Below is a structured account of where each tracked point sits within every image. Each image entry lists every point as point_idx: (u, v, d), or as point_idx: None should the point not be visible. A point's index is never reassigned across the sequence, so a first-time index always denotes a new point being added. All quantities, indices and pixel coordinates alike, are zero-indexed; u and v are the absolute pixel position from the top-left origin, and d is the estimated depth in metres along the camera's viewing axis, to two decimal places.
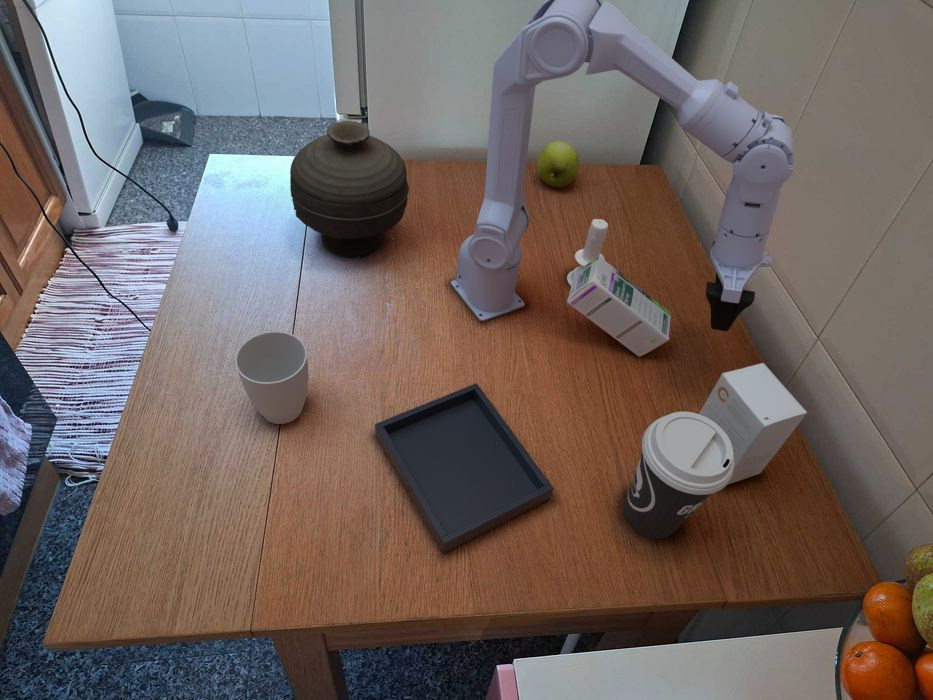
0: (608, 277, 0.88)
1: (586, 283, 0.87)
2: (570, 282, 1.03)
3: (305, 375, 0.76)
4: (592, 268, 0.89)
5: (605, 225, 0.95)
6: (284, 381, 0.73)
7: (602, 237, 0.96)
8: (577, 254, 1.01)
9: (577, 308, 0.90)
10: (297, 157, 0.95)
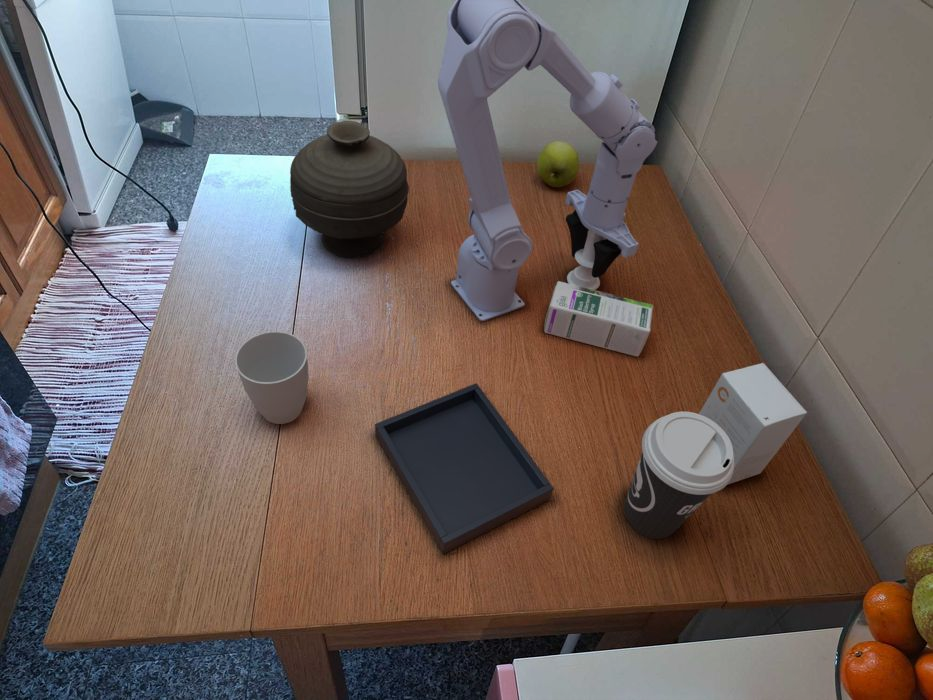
0: (568, 297, 0.93)
1: (548, 310, 0.93)
2: (570, 282, 1.03)
3: (305, 375, 0.76)
4: (553, 294, 0.94)
5: None
6: (284, 381, 0.73)
7: (602, 237, 0.96)
8: (577, 254, 1.01)
9: (555, 334, 0.95)
10: (297, 157, 0.95)
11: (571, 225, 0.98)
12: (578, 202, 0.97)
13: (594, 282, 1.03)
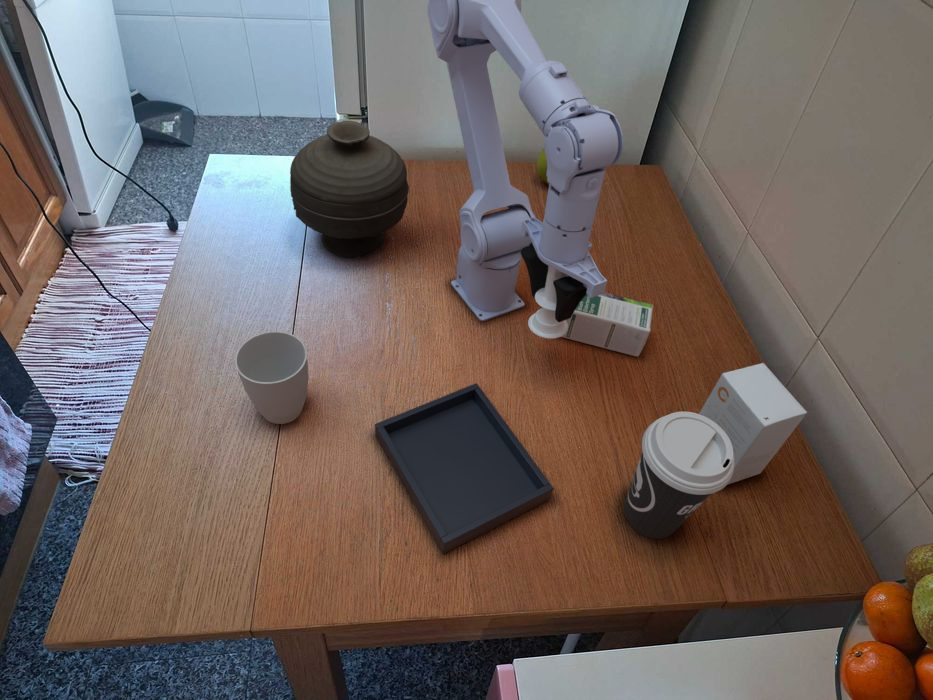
0: None
1: None
2: (532, 327, 0.86)
3: (305, 375, 0.76)
4: None
5: None
6: (284, 381, 0.73)
7: None
8: (538, 294, 0.83)
9: None
10: (297, 157, 0.95)
11: (527, 260, 0.81)
12: (534, 232, 0.80)
13: (561, 327, 0.85)
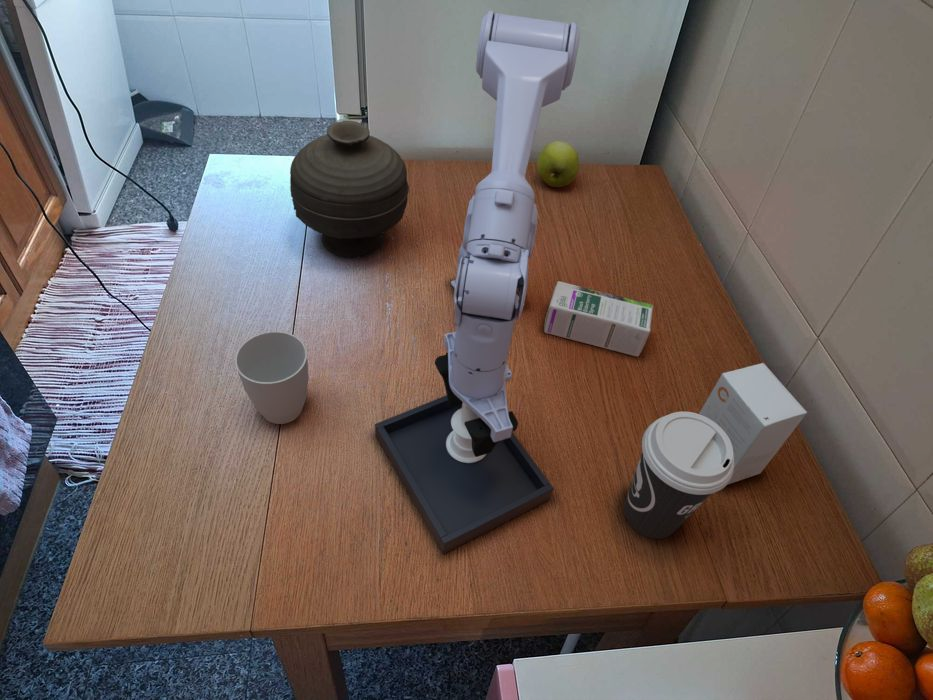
0: (568, 297, 0.93)
1: (548, 310, 0.93)
2: (448, 446, 0.80)
3: (305, 375, 0.76)
4: (553, 294, 0.94)
5: None
6: (284, 381, 0.73)
7: None
8: (455, 415, 0.77)
9: (555, 334, 0.95)
10: (297, 157, 0.95)
11: None
12: (453, 351, 0.73)
13: None
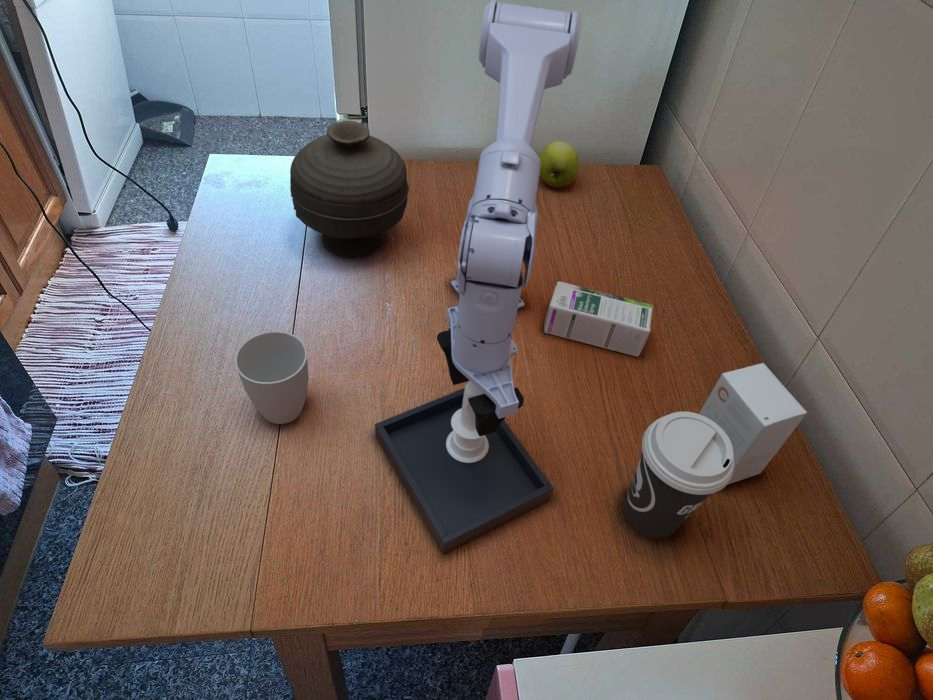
0: (568, 297, 0.93)
1: (548, 310, 0.93)
2: (448, 446, 0.80)
3: (305, 375, 0.76)
4: (553, 294, 0.94)
5: None
6: (284, 381, 0.73)
7: None
8: (455, 415, 0.77)
9: (555, 334, 0.95)
10: (297, 157, 0.95)
11: None
12: (456, 325, 0.70)
13: (478, 451, 0.79)
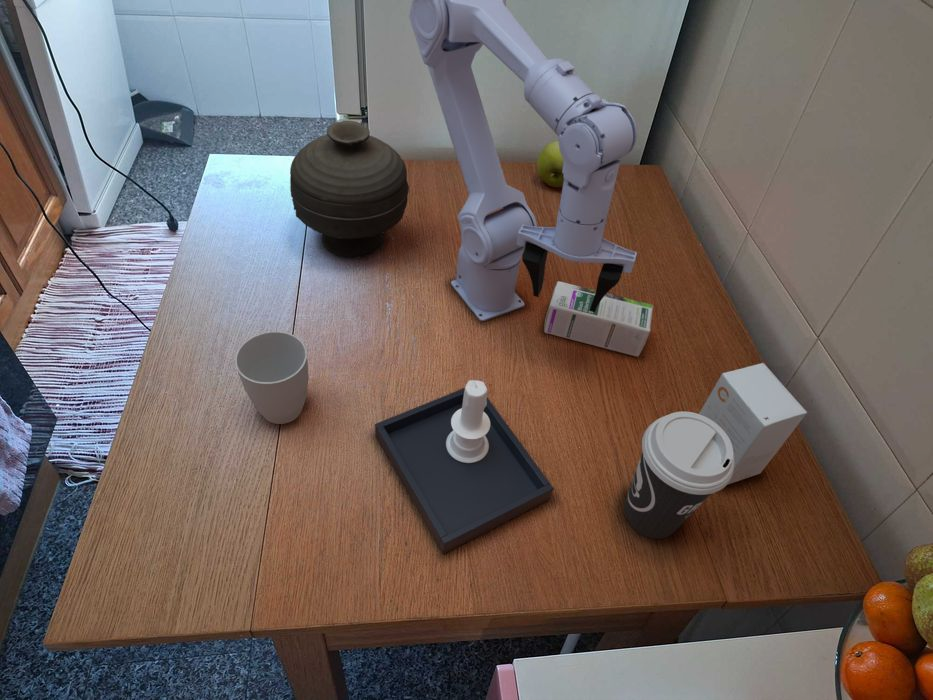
0: (568, 297, 0.93)
1: (548, 310, 0.93)
2: (448, 446, 0.80)
3: (305, 375, 0.76)
4: (553, 294, 0.94)
5: (482, 391, 0.72)
6: (284, 381, 0.73)
7: (479, 405, 0.72)
8: (455, 415, 0.77)
9: (555, 334, 0.95)
10: (297, 157, 0.95)
11: (533, 264, 0.80)
12: (539, 238, 0.79)
13: (478, 451, 0.79)
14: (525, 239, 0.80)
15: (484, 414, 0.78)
